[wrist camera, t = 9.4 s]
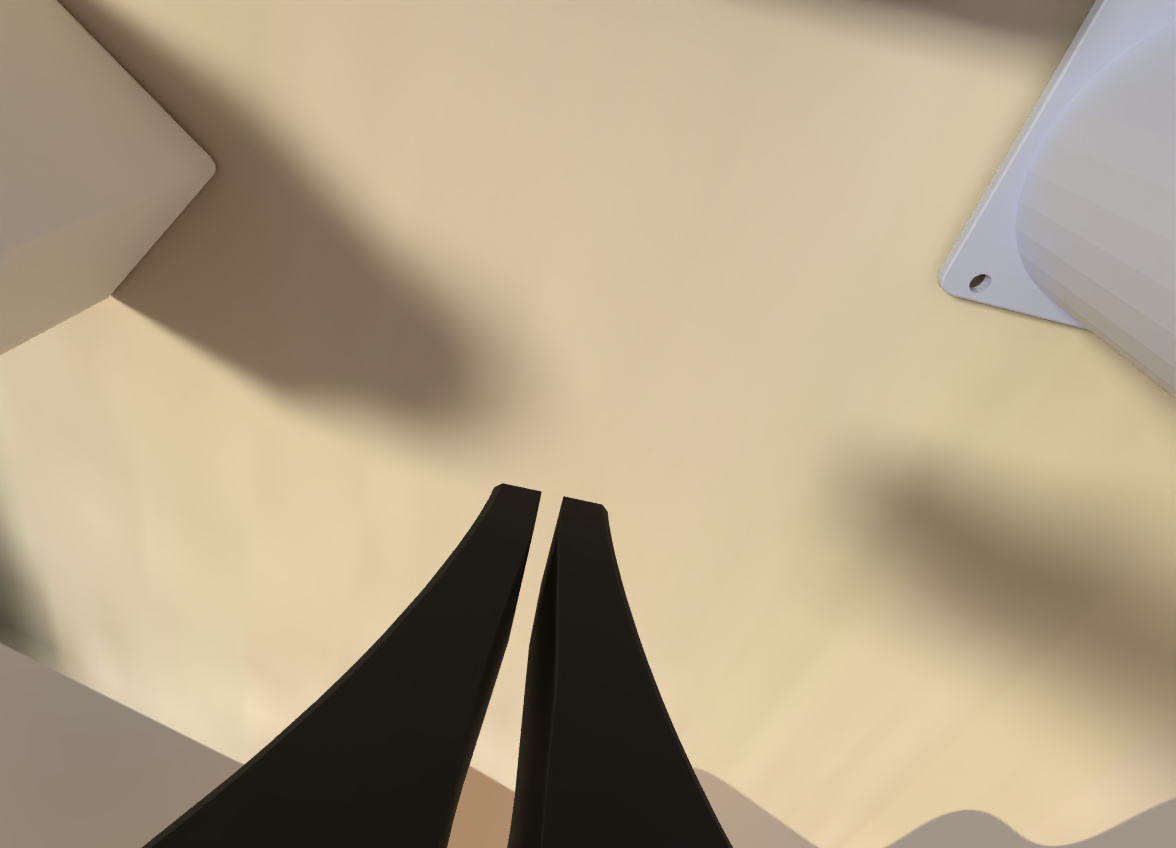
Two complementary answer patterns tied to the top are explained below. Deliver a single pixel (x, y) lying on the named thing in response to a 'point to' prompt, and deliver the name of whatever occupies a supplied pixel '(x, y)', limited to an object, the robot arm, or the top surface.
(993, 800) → the top surface
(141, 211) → the medicine bottle
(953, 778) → the top surface
